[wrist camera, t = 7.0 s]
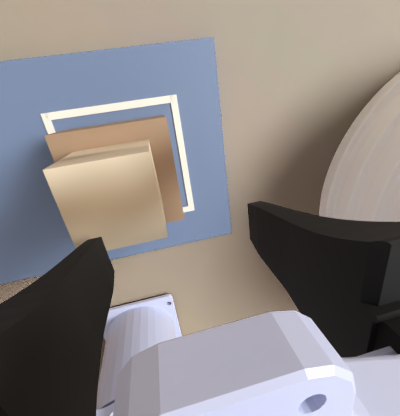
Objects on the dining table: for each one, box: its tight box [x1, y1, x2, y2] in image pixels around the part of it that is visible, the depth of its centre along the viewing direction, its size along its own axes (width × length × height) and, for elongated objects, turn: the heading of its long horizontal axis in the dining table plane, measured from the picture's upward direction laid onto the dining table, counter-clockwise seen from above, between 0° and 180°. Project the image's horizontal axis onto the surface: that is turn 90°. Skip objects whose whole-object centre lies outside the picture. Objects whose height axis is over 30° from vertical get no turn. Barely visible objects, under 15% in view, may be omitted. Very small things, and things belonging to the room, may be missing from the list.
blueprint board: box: [0, 37, 232, 284], centre depth 19 cm, size 16×28×1 cm, turn 98°
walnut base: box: [44, 115, 185, 223], centre depth 17 cm, size 7×7×4 cm
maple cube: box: [43, 139, 168, 251], centre depth 13 cm, size 4×4×4 cm
